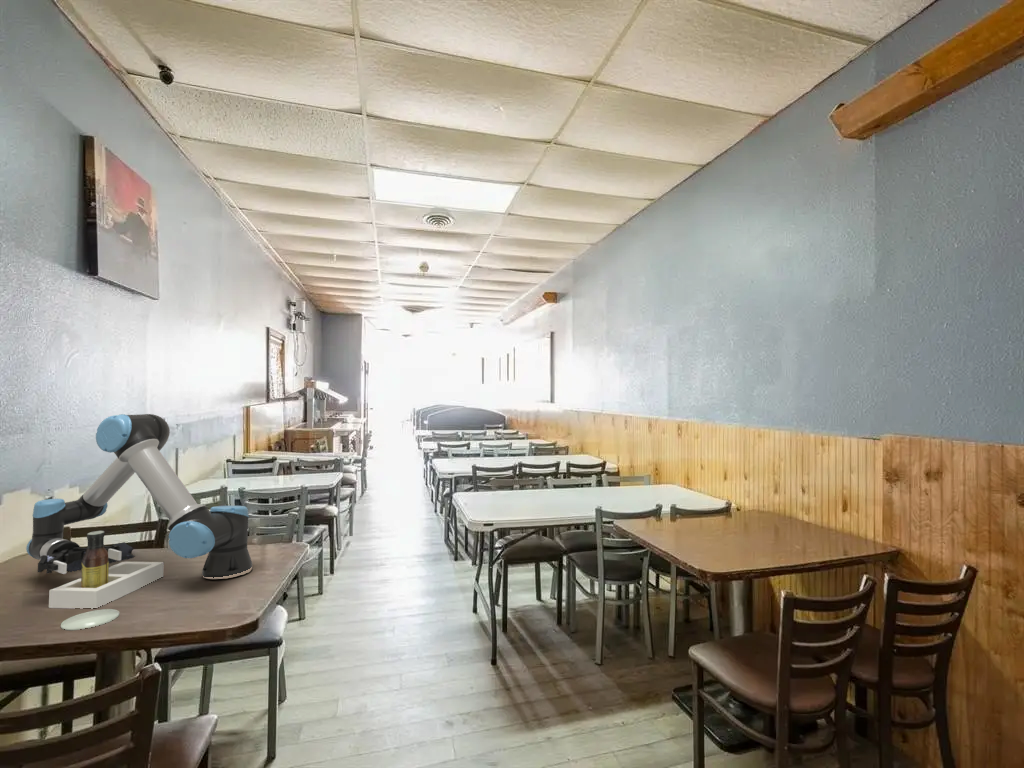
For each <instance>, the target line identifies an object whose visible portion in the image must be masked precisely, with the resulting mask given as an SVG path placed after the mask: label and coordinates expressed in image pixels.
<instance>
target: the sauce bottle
mask: <svg viewBox="0 0 1024 768" xmlns="http://www.w3.org/2000/svg"><path fill="white" fill-rule="evenodd" d="M104 537H105V531H104V530H96V531H95V530H94V531H91V532H88V533H86V539H87V546H86V548H87V550H86V552H85V555H84V557H83V559H82V570H81V577H80V578H81V588H97V587H100V586H102V585H105V584H107V583H108V572H109V567H110V565H109V564H110V563H109V561H108V552H107V550H106V549H105V548H104V546H105V543H104V542H105V541H104V539H105V538H104Z"/></svg>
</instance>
